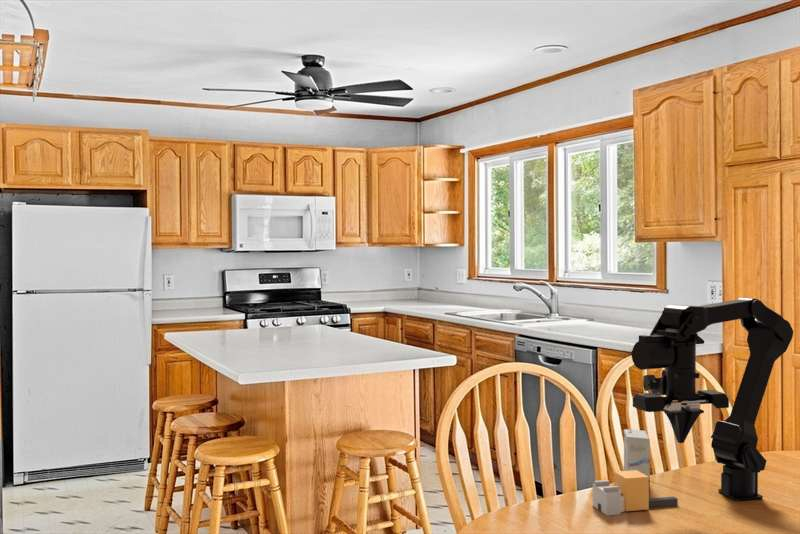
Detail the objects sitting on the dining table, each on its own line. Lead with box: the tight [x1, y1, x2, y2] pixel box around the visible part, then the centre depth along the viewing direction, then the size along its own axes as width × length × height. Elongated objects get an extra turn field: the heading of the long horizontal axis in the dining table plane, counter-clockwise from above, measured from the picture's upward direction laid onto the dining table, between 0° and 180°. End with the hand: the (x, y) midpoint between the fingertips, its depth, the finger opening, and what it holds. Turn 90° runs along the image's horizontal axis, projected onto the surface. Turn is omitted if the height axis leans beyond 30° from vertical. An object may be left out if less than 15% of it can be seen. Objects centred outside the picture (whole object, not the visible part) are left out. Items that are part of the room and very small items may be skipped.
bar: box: [597, 496, 679, 512], centre depth 156 cm, size 17×1×1 cm, turn 102°
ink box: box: [623, 428, 651, 493], centre depth 170 cm, size 9×5×12 cm, turn 168°
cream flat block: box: [621, 495, 625, 513], centre depth 155 cm, size 1×4×3 cm, turn 12°
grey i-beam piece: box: [592, 479, 622, 517], centre depth 155 cm, size 3×6×5 cm, turn 12°
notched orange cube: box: [613, 470, 650, 512], centre depth 156 cm, size 5×5×7 cm
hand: (680, 442), depth 157 cm, fingers closed
